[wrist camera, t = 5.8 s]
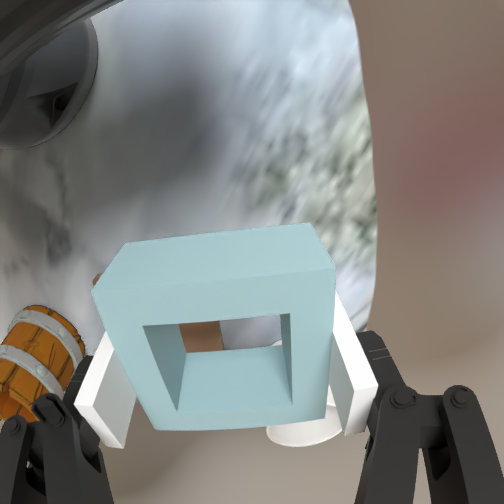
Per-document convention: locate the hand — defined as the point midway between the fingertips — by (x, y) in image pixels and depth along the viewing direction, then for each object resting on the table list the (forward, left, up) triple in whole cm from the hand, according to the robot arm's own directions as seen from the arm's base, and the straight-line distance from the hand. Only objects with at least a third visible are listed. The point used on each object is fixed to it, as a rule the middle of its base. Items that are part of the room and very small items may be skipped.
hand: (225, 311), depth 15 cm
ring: (0, 0, 0) cm, 0 cm away
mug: (+15, -28, -16) cm, 35 cm away
